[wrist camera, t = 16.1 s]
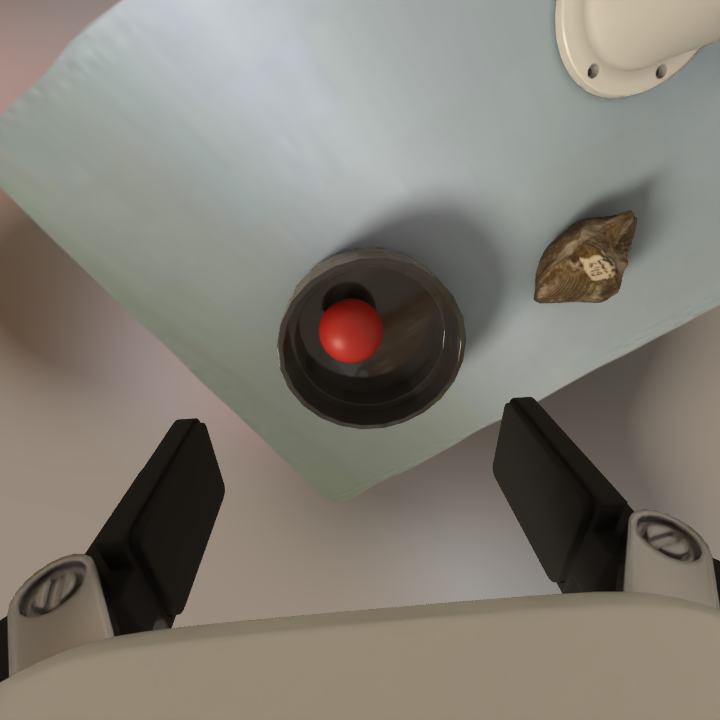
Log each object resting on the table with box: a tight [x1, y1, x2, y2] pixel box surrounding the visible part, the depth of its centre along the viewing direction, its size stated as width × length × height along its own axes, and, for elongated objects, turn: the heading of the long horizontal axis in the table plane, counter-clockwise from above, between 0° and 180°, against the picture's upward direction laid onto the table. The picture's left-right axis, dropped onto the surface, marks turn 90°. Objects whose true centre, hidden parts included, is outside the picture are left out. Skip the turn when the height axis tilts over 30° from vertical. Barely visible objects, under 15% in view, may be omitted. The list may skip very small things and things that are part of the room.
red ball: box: [319, 298, 383, 363], centre depth 32 cm, size 6×6×6 cm
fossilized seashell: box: [534, 210, 637, 303], centre depth 32 cm, size 8×7×10 cm
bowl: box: [277, 248, 466, 429], centre depth 34 cm, size 17×17×6 cm
